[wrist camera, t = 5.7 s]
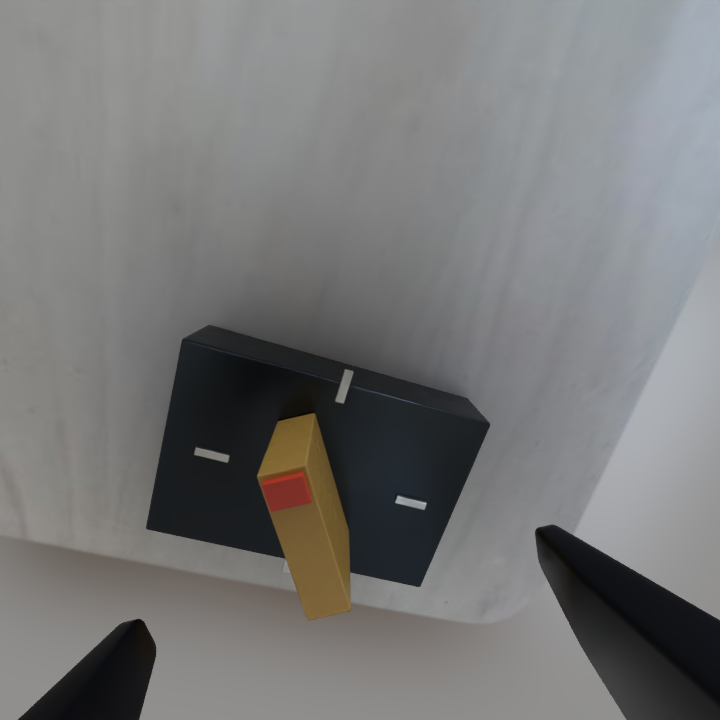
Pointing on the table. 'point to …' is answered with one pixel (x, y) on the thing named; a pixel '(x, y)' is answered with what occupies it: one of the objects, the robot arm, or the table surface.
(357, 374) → the block
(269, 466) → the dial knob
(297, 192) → the table surface
